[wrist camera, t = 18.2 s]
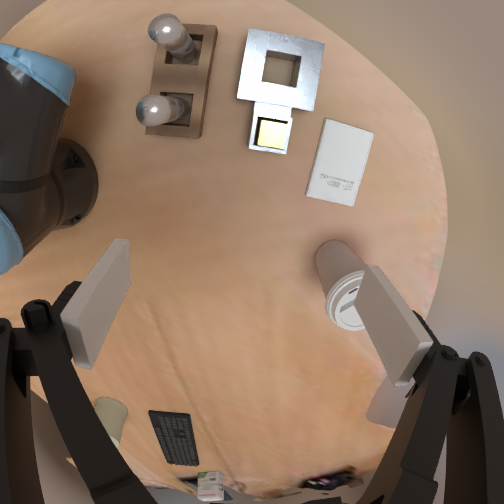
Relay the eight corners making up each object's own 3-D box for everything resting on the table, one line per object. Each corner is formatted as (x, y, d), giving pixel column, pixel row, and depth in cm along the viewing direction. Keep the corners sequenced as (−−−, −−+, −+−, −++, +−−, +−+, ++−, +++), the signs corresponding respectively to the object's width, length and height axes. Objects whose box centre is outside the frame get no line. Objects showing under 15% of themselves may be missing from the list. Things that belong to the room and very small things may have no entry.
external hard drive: (370, 132, 44) (350, 204, 49) (323, 117, 42) (304, 193, 48) (375, 133, 42) (353, 207, 47) (326, 118, 41) (306, 196, 46)
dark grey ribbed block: (148, 408, 72) (147, 414, 70) (189, 411, 72) (189, 417, 71) (167, 459, 87) (167, 464, 86) (199, 462, 88) (199, 467, 86)
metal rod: (175, 62, 37) (145, 42, 23) (178, 43, 36) (151, 13, 21) (197, 64, 37) (177, 42, 23) (200, 44, 36) (183, 13, 22)
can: (99, 411, 72) (89, 444, 61) (94, 393, 68) (82, 428, 57) (129, 418, 73) (121, 452, 63) (126, 401, 69) (117, 438, 59)
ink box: (204, 476, 94) (203, 502, 84) (197, 472, 92) (196, 498, 81) (223, 474, 93) (224, 500, 83) (217, 470, 91) (217, 497, 80)
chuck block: (230, 141, 43) (229, 145, 39) (247, 36, 36) (249, 28, 31) (296, 152, 44) (303, 157, 40) (315, 49, 37) (324, 43, 33)
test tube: (167, 118, 41) (134, 125, 27) (170, 97, 39) (137, 94, 25) (189, 120, 41) (165, 127, 27) (192, 99, 40) (169, 95, 26)
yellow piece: (254, 139, 42) (257, 144, 37) (258, 118, 41) (261, 120, 35) (276, 143, 42) (282, 148, 37) (280, 122, 41) (287, 124, 36)
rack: (201, 135, 42) (198, 138, 39) (152, 131, 42) (145, 134, 38) (217, 32, 35) (216, 25, 32) (167, 29, 34) (161, 23, 31)
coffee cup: (357, 227, 50) (395, 271, 37) (358, 274, 55) (390, 326, 41) (303, 237, 51) (327, 287, 37) (308, 285, 55) (329, 341, 42)
